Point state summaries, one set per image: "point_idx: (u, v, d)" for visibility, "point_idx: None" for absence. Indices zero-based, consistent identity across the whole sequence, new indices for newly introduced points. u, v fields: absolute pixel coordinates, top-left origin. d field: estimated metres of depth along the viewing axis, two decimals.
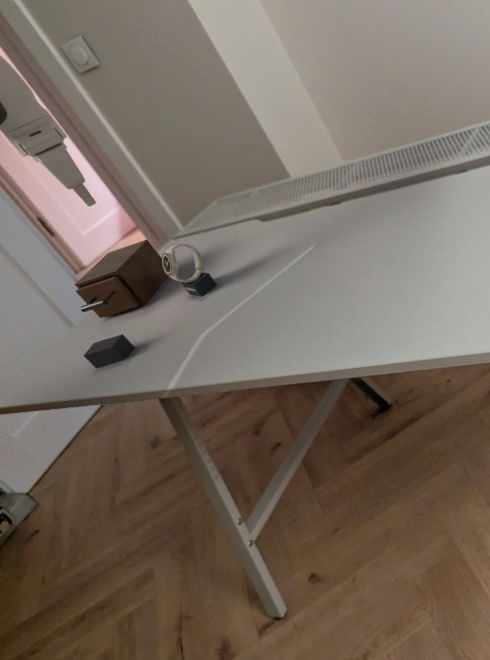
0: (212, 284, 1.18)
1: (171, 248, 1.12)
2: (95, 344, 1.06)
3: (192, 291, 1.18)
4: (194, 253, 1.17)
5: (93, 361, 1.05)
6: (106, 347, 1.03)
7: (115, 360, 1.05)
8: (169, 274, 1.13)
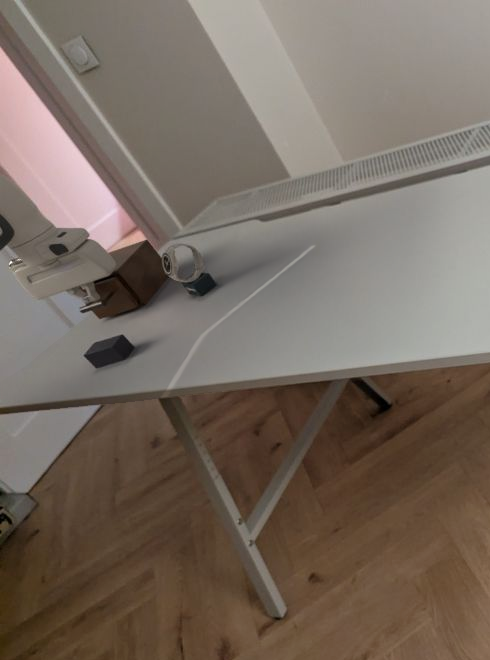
0: (212, 284, 1.18)
1: (171, 248, 1.12)
2: (95, 344, 1.06)
3: (192, 291, 1.18)
4: (194, 253, 1.17)
5: (93, 361, 1.05)
6: (106, 347, 1.03)
7: (115, 360, 1.05)
8: (169, 274, 1.13)
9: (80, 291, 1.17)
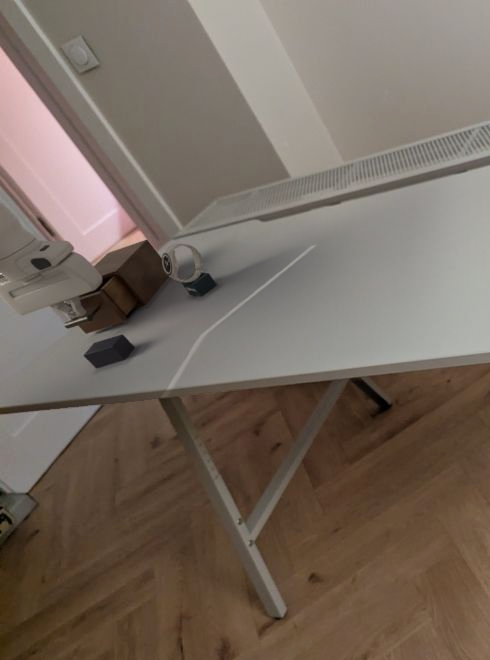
0: (212, 284, 1.18)
1: (171, 248, 1.12)
2: (95, 344, 1.06)
3: (192, 291, 1.18)
4: (194, 253, 1.17)
5: (93, 361, 1.05)
6: (106, 347, 1.03)
7: (115, 360, 1.05)
8: (169, 274, 1.13)
9: (65, 306, 1.12)
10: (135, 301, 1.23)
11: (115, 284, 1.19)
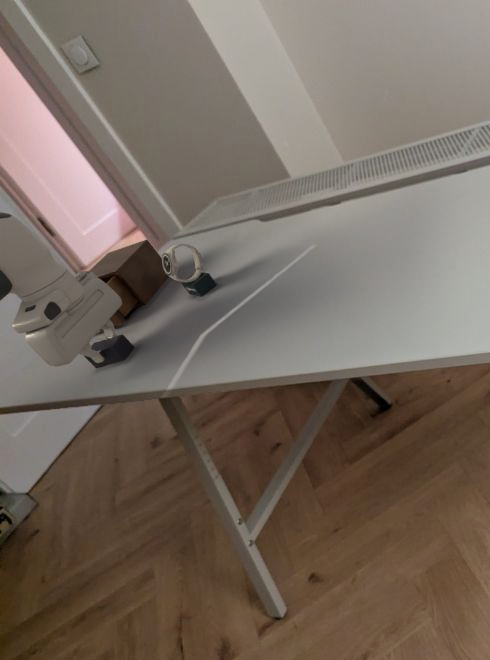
0: (212, 284, 1.18)
1: (171, 248, 1.12)
2: (95, 344, 1.06)
3: (192, 291, 1.18)
4: (194, 253, 1.17)
5: (93, 361, 1.05)
6: (106, 347, 1.03)
7: (115, 360, 1.05)
8: (169, 274, 1.13)
9: (110, 329, 1.07)
10: (134, 303, 1.22)
11: (114, 285, 1.18)
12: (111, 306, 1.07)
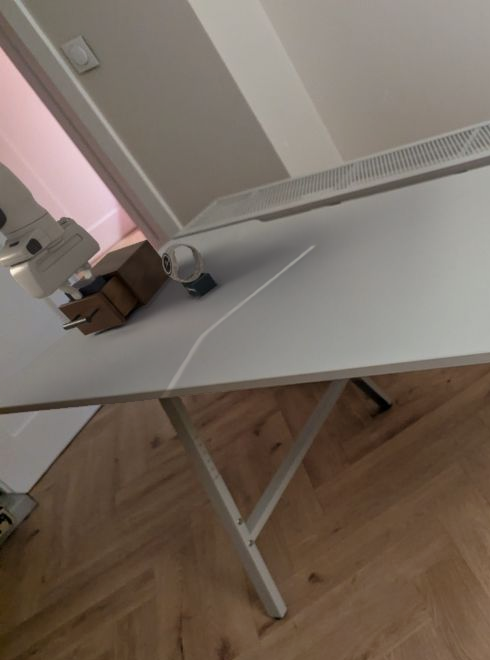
0: (212, 284, 1.18)
1: (171, 248, 1.12)
2: (75, 284, 1.17)
3: (192, 291, 1.18)
4: (194, 253, 1.17)
5: (73, 299, 1.16)
6: (84, 285, 1.14)
7: None
8: (169, 274, 1.13)
9: (88, 271, 1.17)
10: (134, 302, 1.23)
11: (114, 285, 1.18)
12: (90, 250, 1.18)
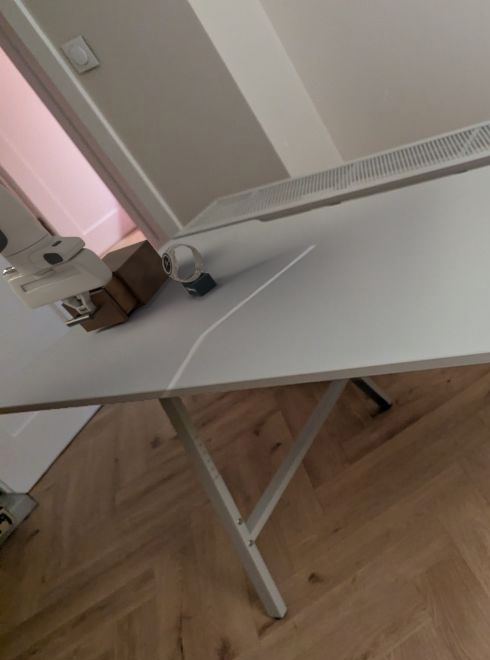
0: (212, 284, 1.18)
1: (171, 248, 1.12)
2: None
3: (192, 291, 1.18)
4: (194, 253, 1.17)
5: None
6: None
7: None
8: (169, 274, 1.13)
9: (75, 300, 1.14)
10: (136, 300, 1.23)
11: (116, 282, 1.19)
12: None
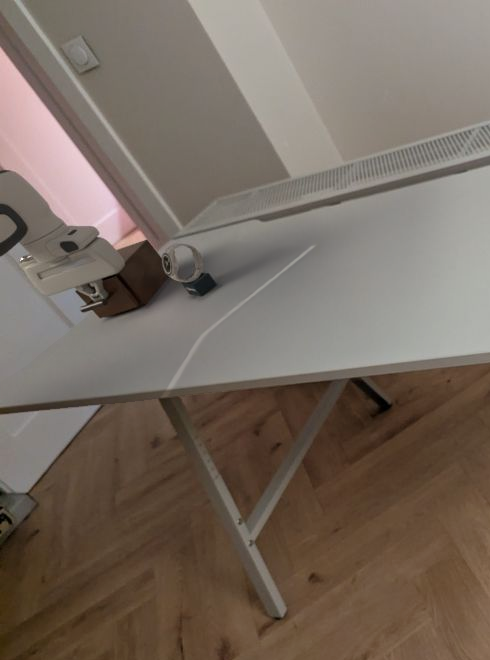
0: (212, 284, 1.18)
1: (171, 248, 1.12)
2: None
3: (192, 291, 1.18)
4: (194, 253, 1.17)
5: None
6: None
7: None
8: (169, 274, 1.13)
9: (89, 288, 1.19)
10: None
11: None
12: None
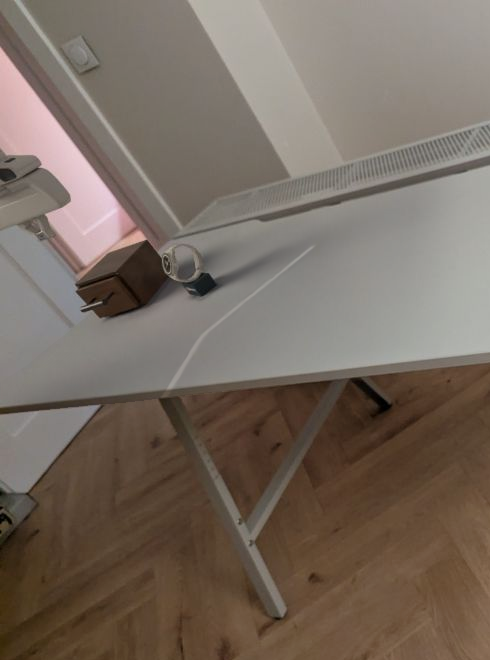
0: (212, 284, 1.18)
1: (171, 248, 1.12)
2: None
3: (192, 291, 1.18)
4: (194, 253, 1.17)
5: None
6: None
7: None
8: (169, 274, 1.13)
9: (33, 227, 1.09)
10: None
11: None
12: None
